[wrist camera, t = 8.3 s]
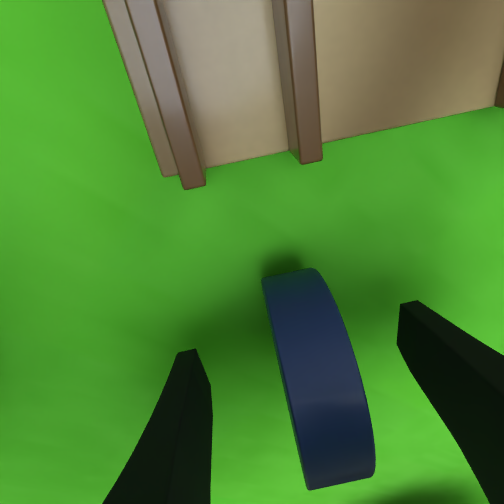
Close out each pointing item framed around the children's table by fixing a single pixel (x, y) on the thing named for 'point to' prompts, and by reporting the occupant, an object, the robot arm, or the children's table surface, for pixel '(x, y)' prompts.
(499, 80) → the disc rack
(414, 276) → the children's table surface
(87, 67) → the children's table surface
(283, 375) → the navy disc
